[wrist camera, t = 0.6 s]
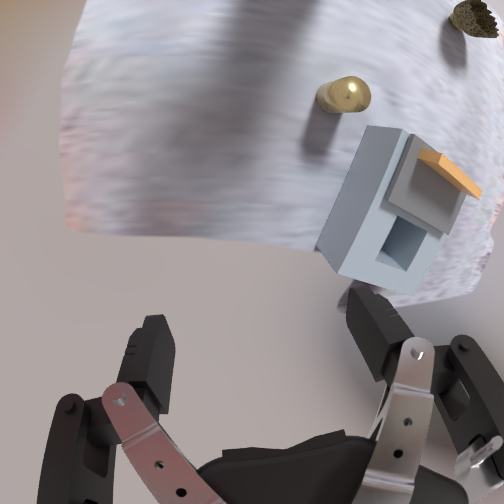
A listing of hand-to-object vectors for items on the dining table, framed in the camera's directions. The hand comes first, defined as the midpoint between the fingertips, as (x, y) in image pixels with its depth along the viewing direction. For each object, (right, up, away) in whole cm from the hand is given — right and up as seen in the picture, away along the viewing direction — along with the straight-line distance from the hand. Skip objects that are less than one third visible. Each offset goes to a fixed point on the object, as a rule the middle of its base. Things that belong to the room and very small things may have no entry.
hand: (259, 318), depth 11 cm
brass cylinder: (+9, +22, +18) cm, 30 cm away
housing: (+18, +10, +25) cm, 32 cm away
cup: (+34, +42, +11) cm, 55 cm away
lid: (+21, +10, +15) cm, 28 cm away
